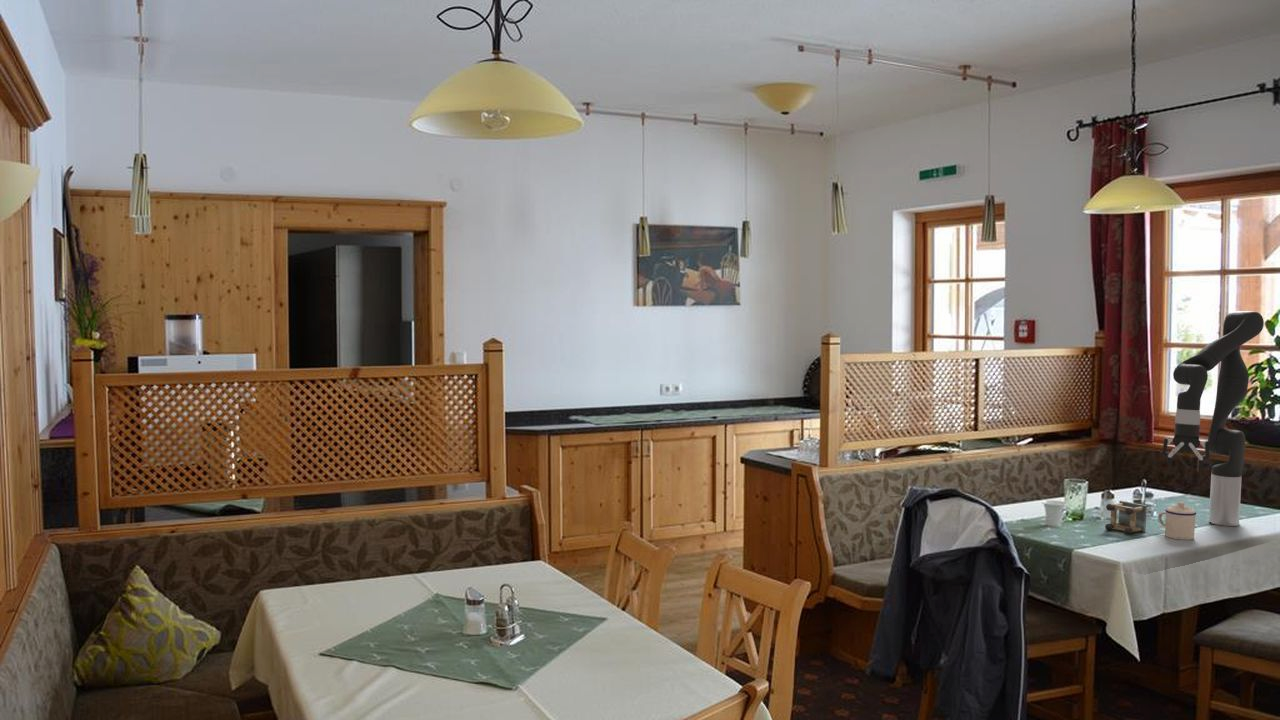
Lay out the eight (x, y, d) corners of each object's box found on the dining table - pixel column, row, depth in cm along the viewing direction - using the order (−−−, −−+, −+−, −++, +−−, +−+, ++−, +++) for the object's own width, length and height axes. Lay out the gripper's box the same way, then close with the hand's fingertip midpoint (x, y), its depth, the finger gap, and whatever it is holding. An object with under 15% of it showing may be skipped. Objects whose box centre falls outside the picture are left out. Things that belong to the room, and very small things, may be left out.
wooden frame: (1119, 526, 354) (1121, 500, 353) (1145, 531, 346) (1146, 505, 346) (1105, 529, 348) (1106, 503, 348) (1130, 535, 341) (1131, 508, 340)
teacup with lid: (1200, 538, 338) (1202, 503, 337) (1184, 541, 333) (1186, 506, 332) (1165, 530, 348) (1167, 496, 347) (1150, 533, 343) (1151, 499, 343)
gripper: (1210, 423, 351) (1207, 470, 351) (1163, 420, 357) (1161, 466, 358) (1211, 425, 344) (1208, 473, 345) (1164, 421, 350) (1161, 468, 351)
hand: (1184, 469), depth 351 cm, fingers open, 8 cm apart
